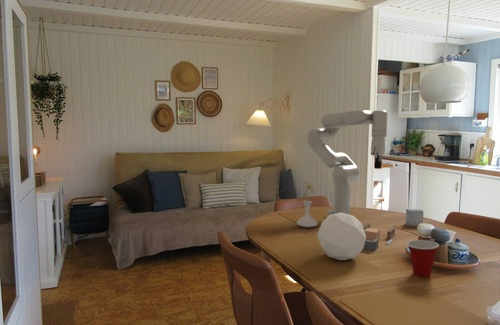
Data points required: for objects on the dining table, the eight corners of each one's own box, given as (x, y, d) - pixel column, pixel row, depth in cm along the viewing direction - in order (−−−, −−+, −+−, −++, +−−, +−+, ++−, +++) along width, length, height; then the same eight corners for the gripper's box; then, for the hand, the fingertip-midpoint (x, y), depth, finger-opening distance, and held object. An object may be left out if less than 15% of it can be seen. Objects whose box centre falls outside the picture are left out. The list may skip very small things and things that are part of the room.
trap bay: (347, 246, 171) (348, 237, 171) (352, 242, 176) (352, 234, 175) (374, 251, 164) (374, 242, 164) (378, 247, 169) (378, 238, 169)
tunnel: (361, 234, 189) (362, 227, 189) (367, 230, 196) (367, 223, 196) (390, 238, 181) (390, 231, 181) (394, 234, 188) (394, 228, 187)
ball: (327, 272, 158) (303, 231, 164) (364, 250, 164) (339, 211, 170) (343, 266, 141) (315, 219, 147) (383, 242, 147) (355, 198, 153)
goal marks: (352, 238, 183) (352, 237, 183) (357, 234, 189) (357, 233, 189) (388, 244, 173) (388, 244, 173) (392, 240, 179) (392, 239, 179)
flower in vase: (319, 229, 198) (319, 182, 196) (297, 229, 199) (298, 182, 196) (315, 222, 211) (316, 179, 209) (295, 222, 212) (295, 179, 209)
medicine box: (420, 224, 208) (420, 208, 207) (423, 226, 203) (423, 210, 202) (405, 223, 208) (406, 208, 207) (408, 226, 204) (408, 210, 203)
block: (363, 240, 179) (363, 230, 179) (367, 237, 184) (367, 227, 184) (376, 242, 176) (376, 232, 175) (379, 239, 181) (380, 229, 180)
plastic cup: (410, 266, 147) (411, 236, 146) (440, 273, 140) (442, 242, 139) (401, 275, 139) (402, 243, 137) (433, 282, 132) (434, 249, 130)
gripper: (376, 133, 205) (375, 166, 207) (367, 134, 193) (366, 169, 195) (390, 133, 201) (389, 167, 203) (382, 134, 188) (380, 170, 190)
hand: (377, 168), depth 199 cm, fingers closed
